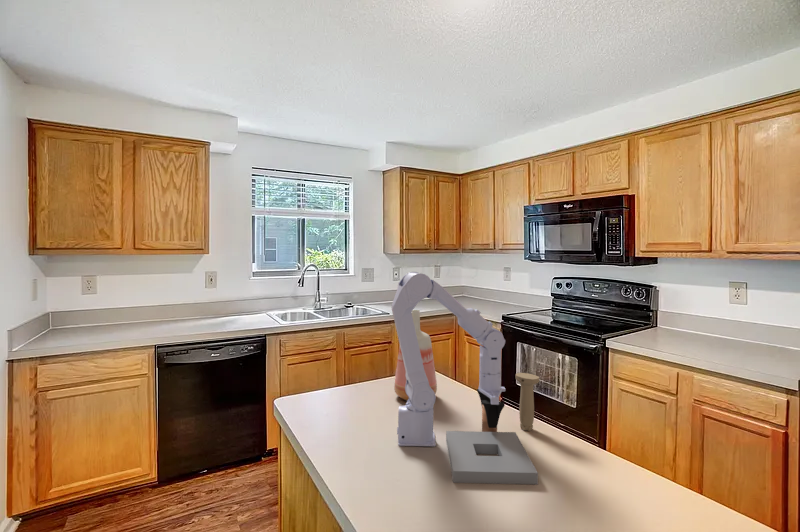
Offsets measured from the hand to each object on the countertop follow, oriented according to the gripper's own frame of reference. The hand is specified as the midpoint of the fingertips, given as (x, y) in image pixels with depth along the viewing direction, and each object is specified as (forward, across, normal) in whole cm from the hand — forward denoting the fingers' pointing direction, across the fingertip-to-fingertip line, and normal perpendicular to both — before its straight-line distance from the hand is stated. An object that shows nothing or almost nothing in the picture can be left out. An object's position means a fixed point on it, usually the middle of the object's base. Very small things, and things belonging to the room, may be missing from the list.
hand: (489, 421), depth 113 cm
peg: (+4, 0, 0) cm, 4 cm away
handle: (+4, +4, -11) cm, 12 cm away
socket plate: (+4, -14, +3) cm, 15 cm away
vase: (+4, +28, +20) cm, 35 cm away
